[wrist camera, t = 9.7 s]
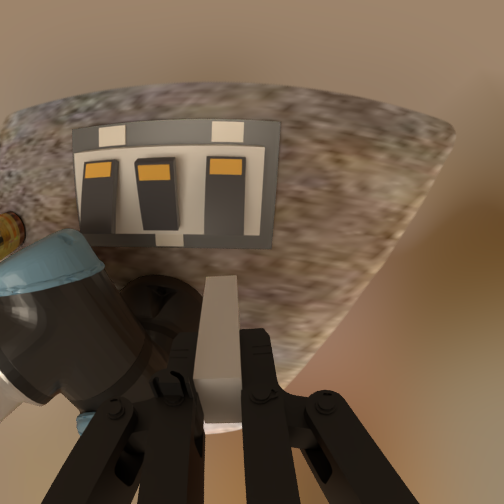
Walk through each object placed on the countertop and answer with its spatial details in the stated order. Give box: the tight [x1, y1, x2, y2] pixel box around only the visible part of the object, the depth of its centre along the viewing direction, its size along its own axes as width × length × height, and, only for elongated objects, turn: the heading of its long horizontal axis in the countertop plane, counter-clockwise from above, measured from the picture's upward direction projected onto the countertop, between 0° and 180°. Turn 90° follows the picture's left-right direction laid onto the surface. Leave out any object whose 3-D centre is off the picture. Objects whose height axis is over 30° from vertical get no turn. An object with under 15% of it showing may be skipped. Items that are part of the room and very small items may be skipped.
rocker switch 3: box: [204, 156, 246, 235], centre depth 29 cm, size 4×8×1 cm, turn 177°
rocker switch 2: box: [134, 157, 180, 231], centre depth 29 cm, size 4×8×1 cm, turn 177°
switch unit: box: [72, 119, 281, 249], centre depth 32 cm, size 26×16×5 cm, turn 87°
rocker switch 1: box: [80, 159, 119, 234], centre depth 28 cm, size 4×8×1 cm, turn 177°
